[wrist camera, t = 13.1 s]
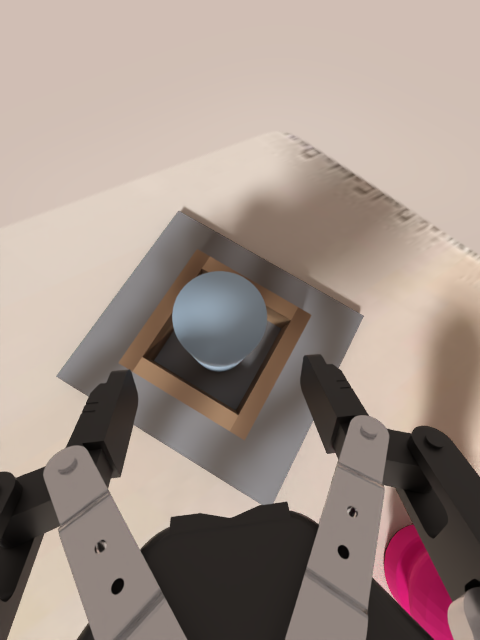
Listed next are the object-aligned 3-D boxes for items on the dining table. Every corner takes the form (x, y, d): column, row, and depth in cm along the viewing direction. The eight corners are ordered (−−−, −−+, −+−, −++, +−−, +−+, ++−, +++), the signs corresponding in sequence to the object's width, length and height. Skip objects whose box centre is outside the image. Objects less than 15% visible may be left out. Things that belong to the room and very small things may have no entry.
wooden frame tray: (62, 376, 23) (26, 375, 19) (180, 216, 27) (172, 185, 23) (267, 504, 22) (279, 534, 18) (358, 318, 26) (386, 305, 22)
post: (182, 354, 23) (152, 330, 13) (211, 310, 24) (205, 254, 14) (228, 382, 23) (236, 382, 12) (254, 336, 24) (283, 301, 14)
